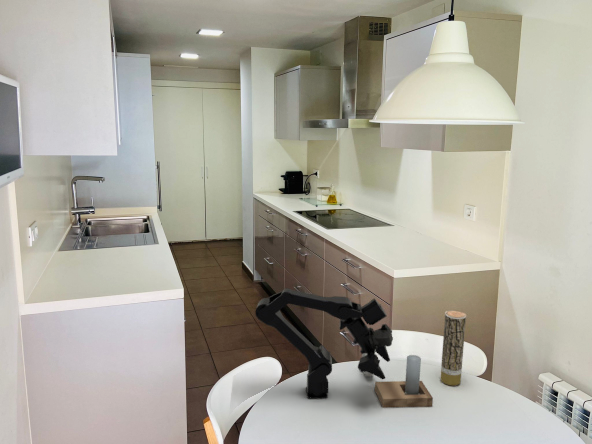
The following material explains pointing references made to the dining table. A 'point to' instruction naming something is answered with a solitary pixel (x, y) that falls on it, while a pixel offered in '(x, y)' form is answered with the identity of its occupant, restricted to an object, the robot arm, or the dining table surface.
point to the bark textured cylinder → (453, 347)
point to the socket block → (401, 395)
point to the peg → (412, 375)
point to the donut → (366, 371)
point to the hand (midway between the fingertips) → (386, 369)
